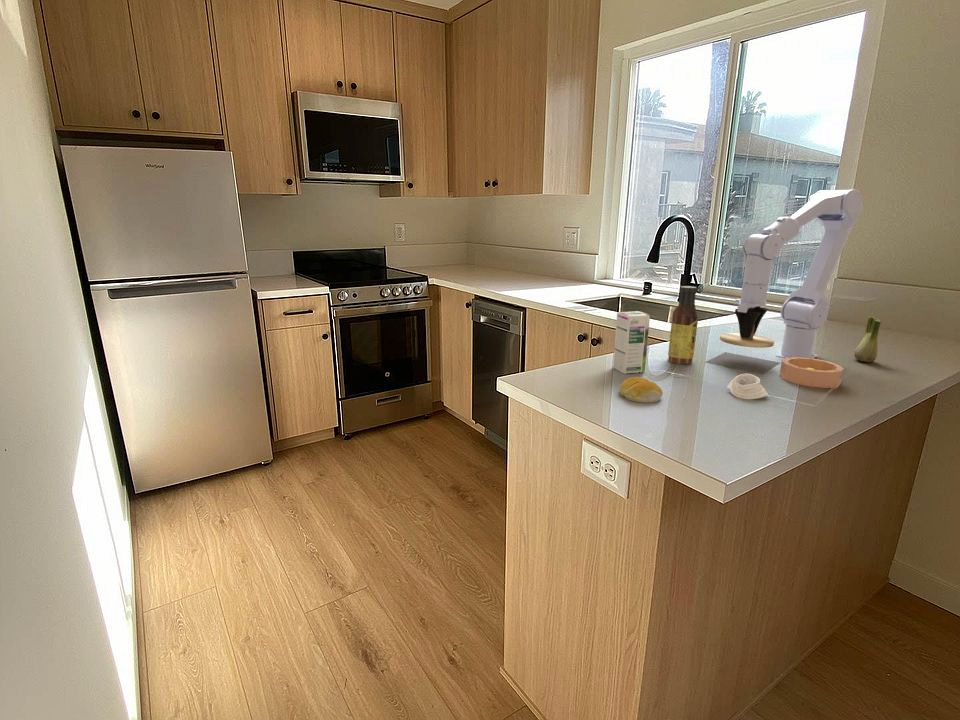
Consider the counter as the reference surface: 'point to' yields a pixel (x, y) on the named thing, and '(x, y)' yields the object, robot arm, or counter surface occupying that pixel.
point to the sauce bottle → (683, 328)
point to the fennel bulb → (868, 342)
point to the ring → (811, 372)
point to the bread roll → (640, 390)
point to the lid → (747, 340)
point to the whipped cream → (747, 387)
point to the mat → (743, 362)
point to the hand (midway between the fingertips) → (747, 336)
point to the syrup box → (631, 341)
